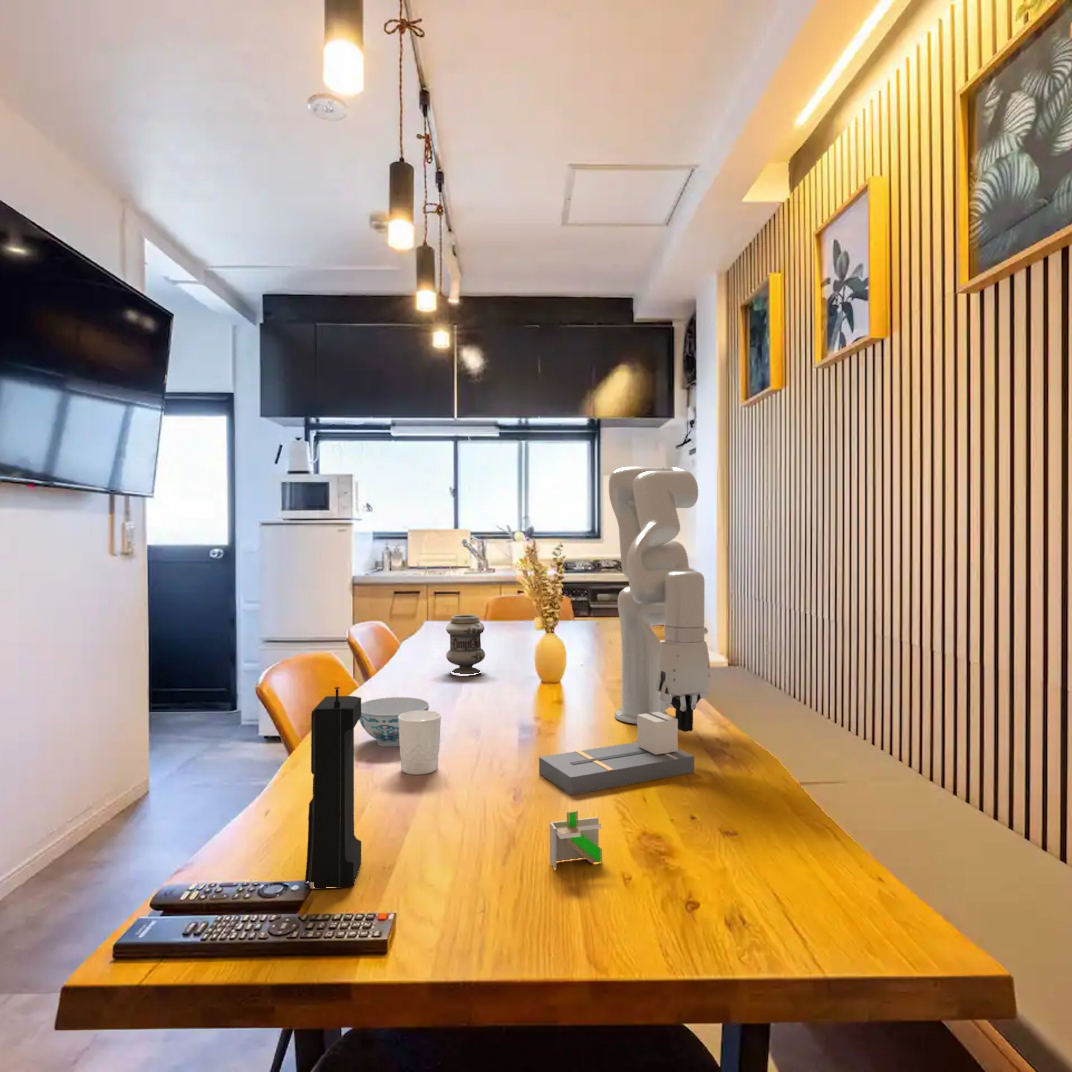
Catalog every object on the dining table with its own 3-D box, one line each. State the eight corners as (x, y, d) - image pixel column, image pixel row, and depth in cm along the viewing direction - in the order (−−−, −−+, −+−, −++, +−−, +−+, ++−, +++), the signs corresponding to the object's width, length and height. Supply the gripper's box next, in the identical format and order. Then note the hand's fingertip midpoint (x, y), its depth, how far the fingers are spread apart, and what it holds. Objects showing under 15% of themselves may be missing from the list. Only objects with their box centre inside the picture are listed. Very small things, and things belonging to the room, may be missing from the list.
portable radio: (317, 861, 97) (317, 676, 96) (362, 859, 97) (362, 675, 97) (303, 890, 89) (303, 689, 89) (353, 888, 89) (352, 688, 89)
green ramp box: (607, 873, 94) (607, 813, 94) (558, 880, 93) (558, 818, 92) (597, 860, 98) (597, 801, 98) (549, 866, 96) (549, 806, 96)
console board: (655, 754, 143) (655, 738, 143) (694, 772, 132) (694, 755, 132) (539, 773, 132) (539, 756, 132) (570, 795, 121) (570, 776, 121)
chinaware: (442, 737, 155) (442, 701, 155) (401, 756, 141) (401, 717, 141) (385, 728, 161) (385, 694, 161) (341, 747, 147) (341, 709, 147)
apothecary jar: (451, 669, 230) (451, 613, 230) (488, 670, 228) (488, 613, 228) (441, 676, 218) (441, 617, 218) (480, 678, 216) (480, 618, 216)
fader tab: (658, 742, 140) (658, 711, 140) (677, 751, 134) (677, 718, 134) (637, 745, 138) (637, 714, 137) (655, 754, 132) (655, 721, 132)
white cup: (448, 764, 136) (448, 712, 136) (428, 778, 129) (428, 722, 129) (411, 760, 139) (411, 708, 139) (390, 773, 132) (390, 719, 132)
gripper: (702, 630, 145) (702, 720, 145) (641, 634, 138) (640, 729, 139) (727, 635, 138) (727, 729, 139) (664, 640, 132) (664, 739, 132)
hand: (684, 729), depth 139 cm, fingers closed
